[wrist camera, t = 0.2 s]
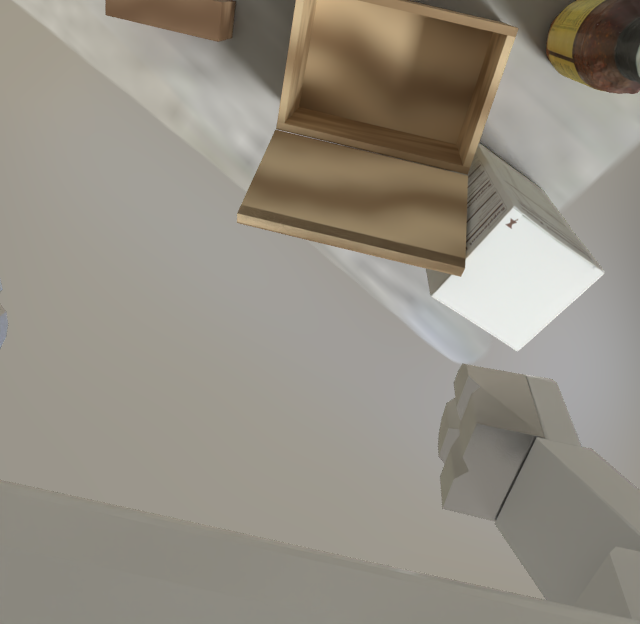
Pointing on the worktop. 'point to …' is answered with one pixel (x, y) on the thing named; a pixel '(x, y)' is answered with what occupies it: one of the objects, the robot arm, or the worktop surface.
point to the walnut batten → (179, 15)
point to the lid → (360, 202)
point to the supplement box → (513, 256)
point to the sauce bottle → (598, 44)
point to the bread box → (393, 78)
